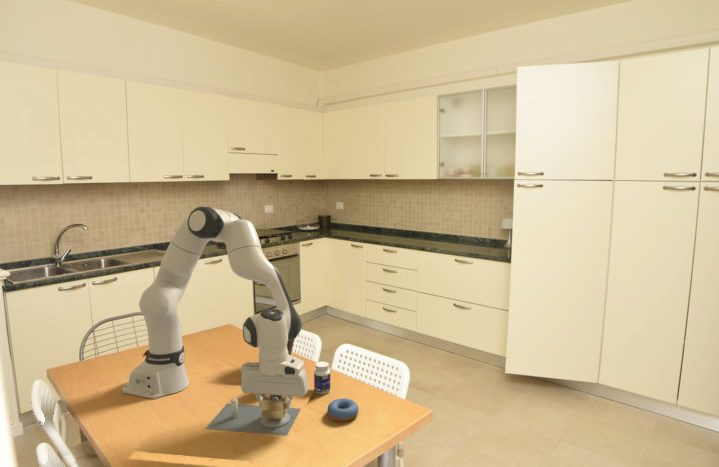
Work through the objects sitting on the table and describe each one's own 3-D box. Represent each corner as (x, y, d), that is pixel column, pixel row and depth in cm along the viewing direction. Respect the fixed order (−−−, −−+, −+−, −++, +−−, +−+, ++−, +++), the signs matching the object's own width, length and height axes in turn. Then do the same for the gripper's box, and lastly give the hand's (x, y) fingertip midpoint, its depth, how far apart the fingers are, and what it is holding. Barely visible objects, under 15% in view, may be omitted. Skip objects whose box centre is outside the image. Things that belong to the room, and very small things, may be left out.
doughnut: (348, 426, 136) (348, 411, 136) (321, 419, 141) (320, 405, 141) (364, 414, 145) (364, 400, 145) (338, 408, 150) (337, 394, 150)
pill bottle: (324, 396, 155) (323, 368, 154) (311, 392, 158) (310, 365, 157) (333, 389, 160) (333, 362, 159) (320, 385, 163) (320, 359, 162)
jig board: (205, 433, 133) (203, 405, 132) (227, 407, 148) (225, 382, 147) (287, 440, 130) (286, 411, 129) (301, 413, 144) (300, 387, 143)
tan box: (261, 417, 135) (261, 401, 134) (268, 406, 141) (268, 391, 140) (282, 419, 134) (281, 403, 133) (288, 408, 140) (288, 392, 140)
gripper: (236, 366, 134) (238, 410, 136) (303, 370, 131) (304, 414, 133) (244, 357, 140) (246, 399, 142) (309, 361, 137) (309, 404, 139)
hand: (275, 407), depth 137 cm, fingers closed on tan box, 6 cm apart
